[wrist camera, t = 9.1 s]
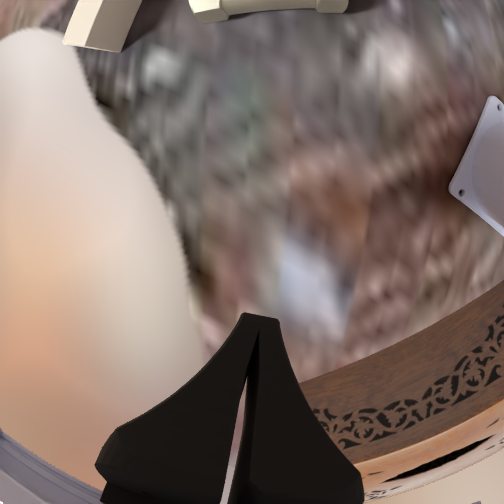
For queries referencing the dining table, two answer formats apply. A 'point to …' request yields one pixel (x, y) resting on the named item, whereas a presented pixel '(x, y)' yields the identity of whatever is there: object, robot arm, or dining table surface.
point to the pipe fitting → (257, 7)
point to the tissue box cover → (420, 401)
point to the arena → (101, 24)
